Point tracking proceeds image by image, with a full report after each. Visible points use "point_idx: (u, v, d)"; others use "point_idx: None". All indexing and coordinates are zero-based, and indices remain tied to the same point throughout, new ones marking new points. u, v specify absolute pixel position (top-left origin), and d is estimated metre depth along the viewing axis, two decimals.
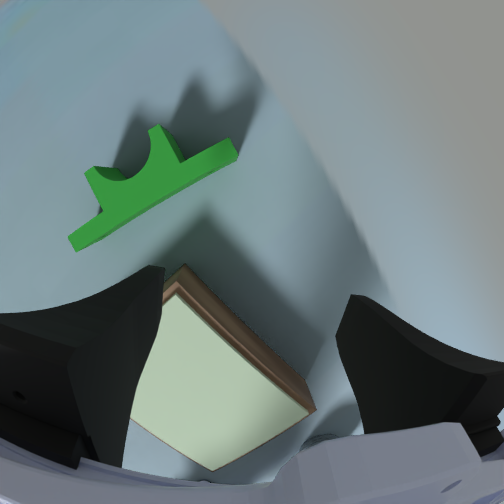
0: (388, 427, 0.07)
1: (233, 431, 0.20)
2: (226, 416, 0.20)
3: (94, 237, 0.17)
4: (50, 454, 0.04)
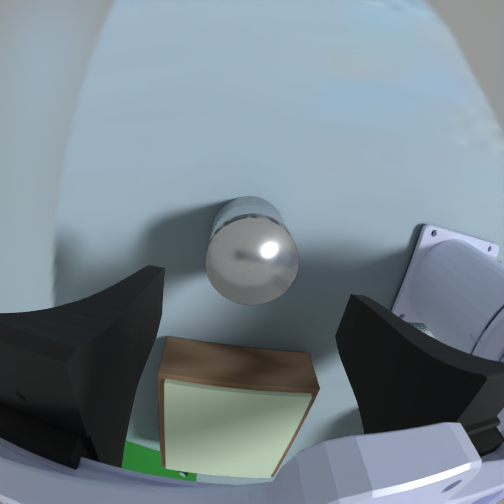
0: (388, 427, 0.07)
1: (233, 416, 0.20)
2: (221, 427, 0.21)
3: None
4: (50, 454, 0.04)
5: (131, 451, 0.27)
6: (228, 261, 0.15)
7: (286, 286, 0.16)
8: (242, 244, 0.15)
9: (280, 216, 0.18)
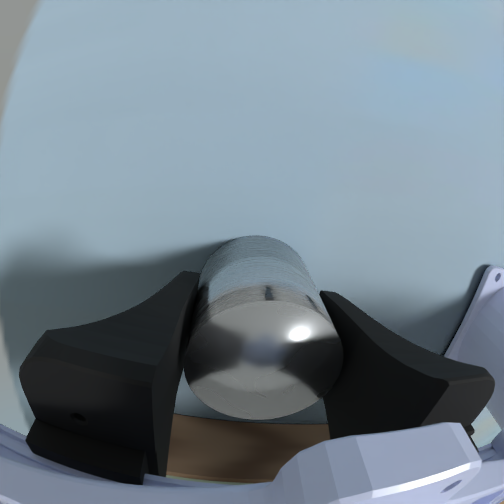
0: (350, 431, 0.07)
1: None
2: None
3: None
4: (50, 454, 0.04)
5: None
6: (223, 368, 0.08)
7: (318, 395, 0.09)
8: (248, 345, 0.08)
9: (307, 272, 0.11)
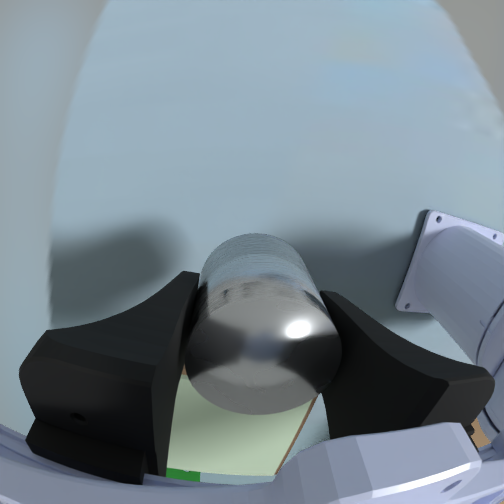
0: (350, 431, 0.07)
1: None
2: (222, 422, 0.20)
3: None
4: (50, 454, 0.04)
5: None
6: (223, 363, 0.08)
7: (317, 391, 0.09)
8: (248, 340, 0.08)
9: (305, 269, 0.11)
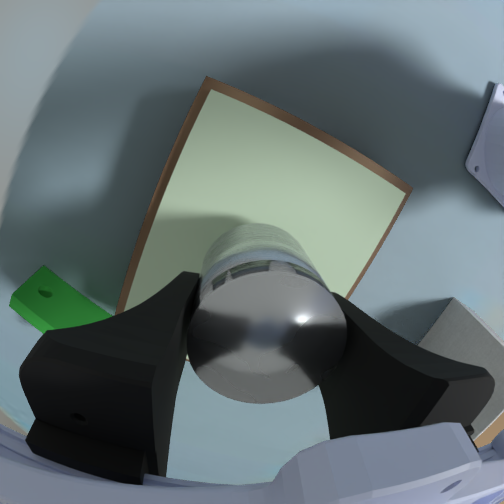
0: (350, 431, 0.07)
1: (290, 195, 0.13)
2: (260, 218, 0.14)
3: None
4: (50, 454, 0.04)
5: (74, 302, 0.18)
6: (226, 345, 0.08)
7: (322, 376, 0.09)
8: (252, 318, 0.08)
9: (307, 256, 0.11)
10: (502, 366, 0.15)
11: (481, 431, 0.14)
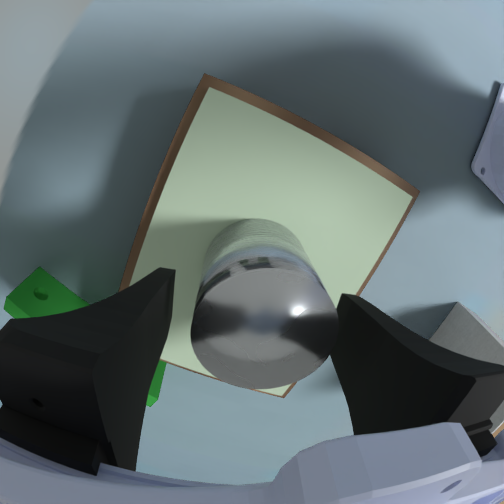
0: (377, 428, 0.07)
1: (293, 199, 0.13)
2: None
3: None
4: (50, 454, 0.04)
5: (70, 305, 0.18)
6: (227, 334, 0.09)
7: (316, 364, 0.10)
8: (250, 311, 0.09)
9: (304, 250, 0.12)
10: None
11: None
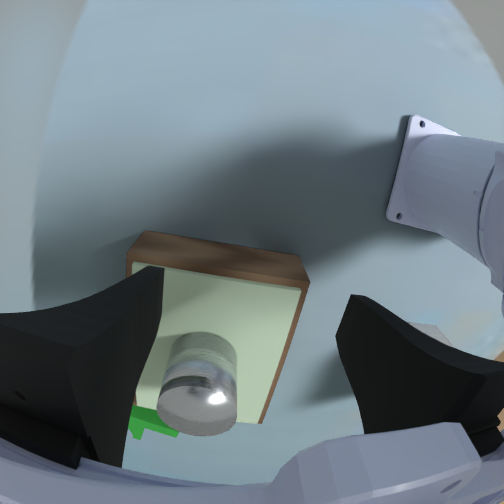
0: (388, 427, 0.07)
1: (210, 317, 0.19)
2: None
3: (161, 427, 0.23)
4: (50, 454, 0.04)
5: None
6: (176, 414, 0.15)
7: (232, 422, 0.16)
8: (181, 404, 0.15)
9: (220, 352, 0.18)
10: None
11: None
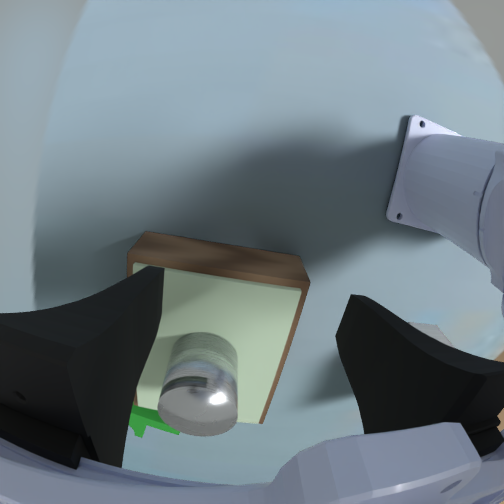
0: (388, 427, 0.07)
1: (210, 318, 0.19)
2: None
3: (163, 424, 0.23)
4: (50, 454, 0.04)
5: None
6: (177, 415, 0.15)
7: (233, 423, 0.16)
8: (182, 405, 0.15)
9: (221, 353, 0.18)
10: None
11: None
